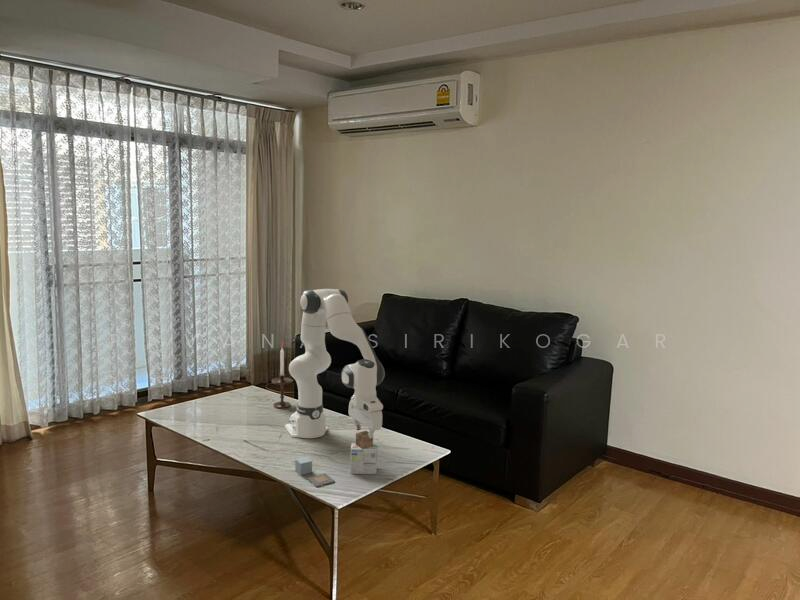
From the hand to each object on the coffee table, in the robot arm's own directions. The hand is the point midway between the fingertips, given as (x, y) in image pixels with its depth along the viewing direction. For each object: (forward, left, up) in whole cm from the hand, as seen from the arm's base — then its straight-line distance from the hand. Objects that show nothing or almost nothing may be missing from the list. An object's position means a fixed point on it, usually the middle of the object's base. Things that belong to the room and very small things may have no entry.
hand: (364, 433), depth 235 cm
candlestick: (-91, +5, -16) cm, 92 cm away
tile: (-1, -19, -16) cm, 25 cm away
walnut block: (0, 0, -5) cm, 5 cm away
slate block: (-12, -21, -16) cm, 29 cm away
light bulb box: (0, 0, -16) cm, 16 cm away
